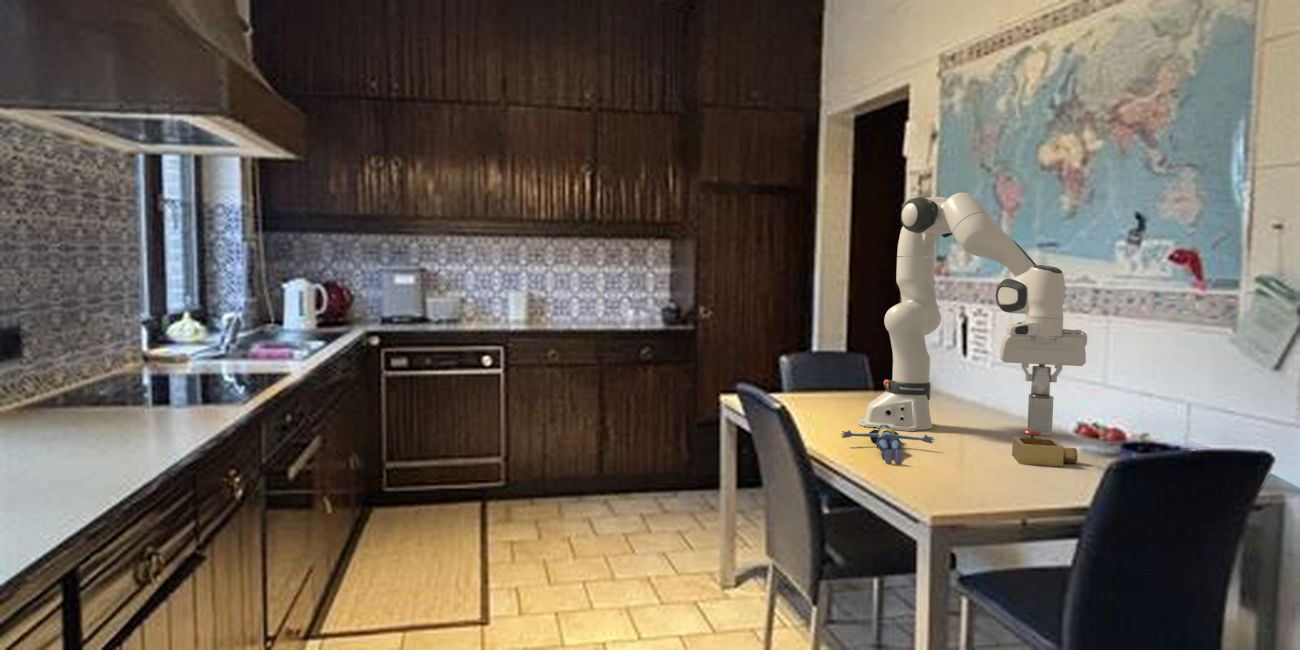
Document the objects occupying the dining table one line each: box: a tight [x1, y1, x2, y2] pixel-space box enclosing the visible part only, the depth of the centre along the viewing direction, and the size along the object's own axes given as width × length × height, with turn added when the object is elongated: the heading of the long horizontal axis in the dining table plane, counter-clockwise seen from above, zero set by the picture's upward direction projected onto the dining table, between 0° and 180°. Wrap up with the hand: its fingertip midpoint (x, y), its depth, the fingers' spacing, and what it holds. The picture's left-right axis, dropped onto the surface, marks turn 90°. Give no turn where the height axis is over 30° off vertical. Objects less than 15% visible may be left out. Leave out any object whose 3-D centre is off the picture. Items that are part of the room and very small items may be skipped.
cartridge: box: [1029, 364, 1052, 399], centre depth 222 cm, size 5×5×9 cm
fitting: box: [1011, 428, 1078, 468], centre depth 226 cm, size 14×15×6 cm
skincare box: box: [1027, 393, 1055, 436], centre depth 260 cm, size 6×4×12 cm
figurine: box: [840, 425, 936, 466], centre depth 232 cm, size 22×26×5 cm
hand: (1040, 381), depth 223 cm, fingers closed on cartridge, 4 cm apart
